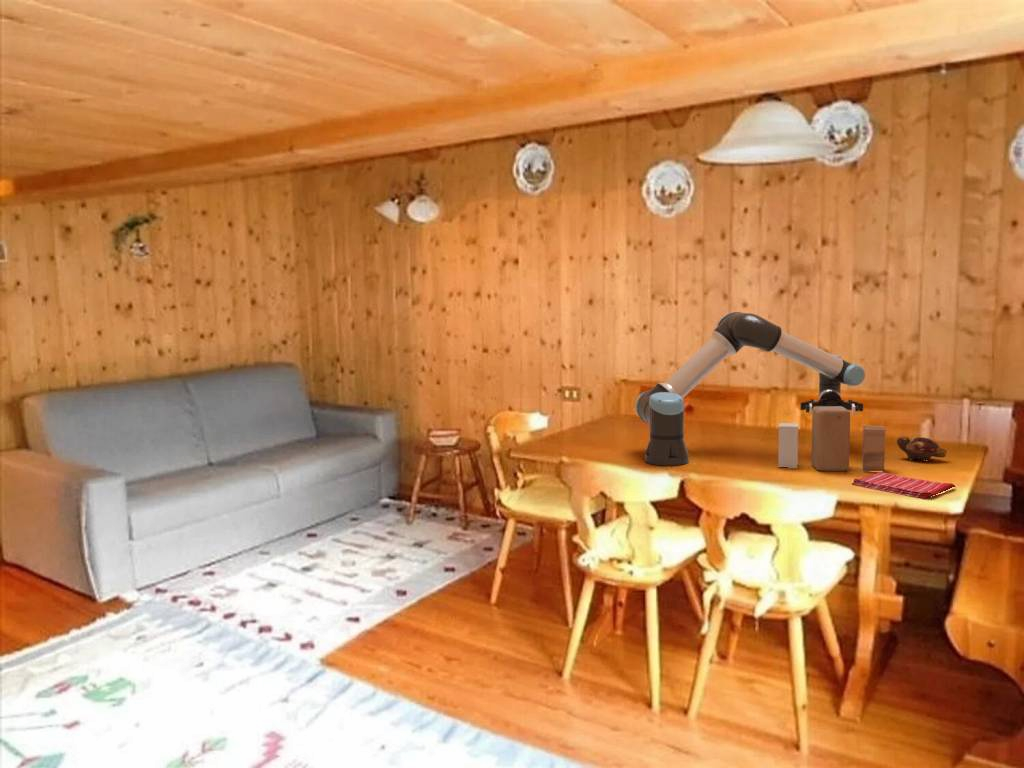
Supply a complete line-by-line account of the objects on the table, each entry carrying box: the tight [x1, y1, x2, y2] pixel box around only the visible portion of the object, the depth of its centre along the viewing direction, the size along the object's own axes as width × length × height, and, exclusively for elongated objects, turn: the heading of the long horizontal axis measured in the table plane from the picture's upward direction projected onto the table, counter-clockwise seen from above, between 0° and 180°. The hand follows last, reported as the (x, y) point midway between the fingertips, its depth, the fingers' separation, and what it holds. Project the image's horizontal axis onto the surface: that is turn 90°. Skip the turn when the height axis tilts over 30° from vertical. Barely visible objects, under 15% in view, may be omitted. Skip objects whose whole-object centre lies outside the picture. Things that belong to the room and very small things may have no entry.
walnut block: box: [861, 425, 886, 472], centre depth 262 cm, size 6×6×14 cm
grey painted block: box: [777, 422, 799, 469], centre depth 270 cm, size 6×6×14 cm
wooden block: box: [810, 406, 851, 472], centre depth 266 cm, size 10×10×20 cm
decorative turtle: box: [896, 436, 948, 461], centre depth 274 cm, size 10×15×8 cm, turn 68°
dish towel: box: [851, 472, 956, 500], centre depth 241 cm, size 17×24×3 cm
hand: (832, 410), depth 274 cm, fingers open, 13 cm apart
